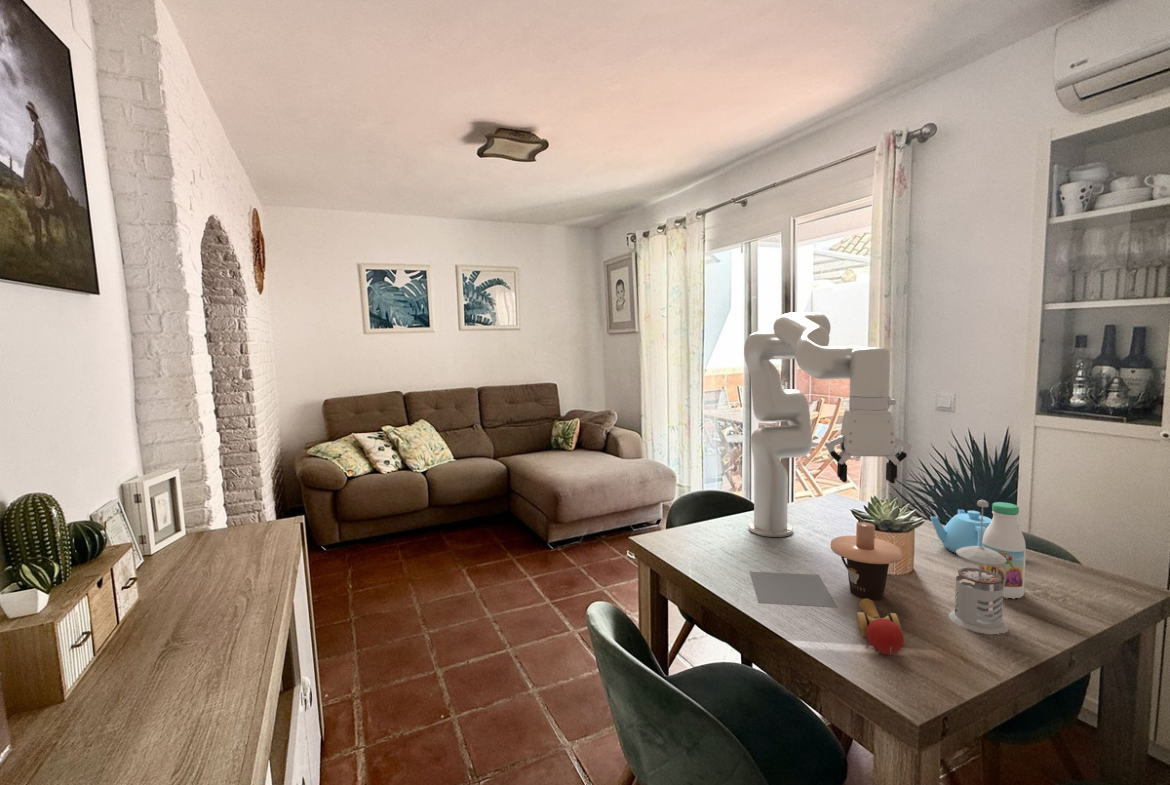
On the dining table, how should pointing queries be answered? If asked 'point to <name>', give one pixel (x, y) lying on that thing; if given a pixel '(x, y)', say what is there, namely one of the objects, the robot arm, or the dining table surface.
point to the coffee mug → (866, 579)
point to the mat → (791, 589)
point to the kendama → (880, 628)
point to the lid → (866, 547)
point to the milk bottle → (1007, 548)
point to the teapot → (962, 530)
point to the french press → (979, 590)
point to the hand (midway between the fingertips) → (866, 481)
